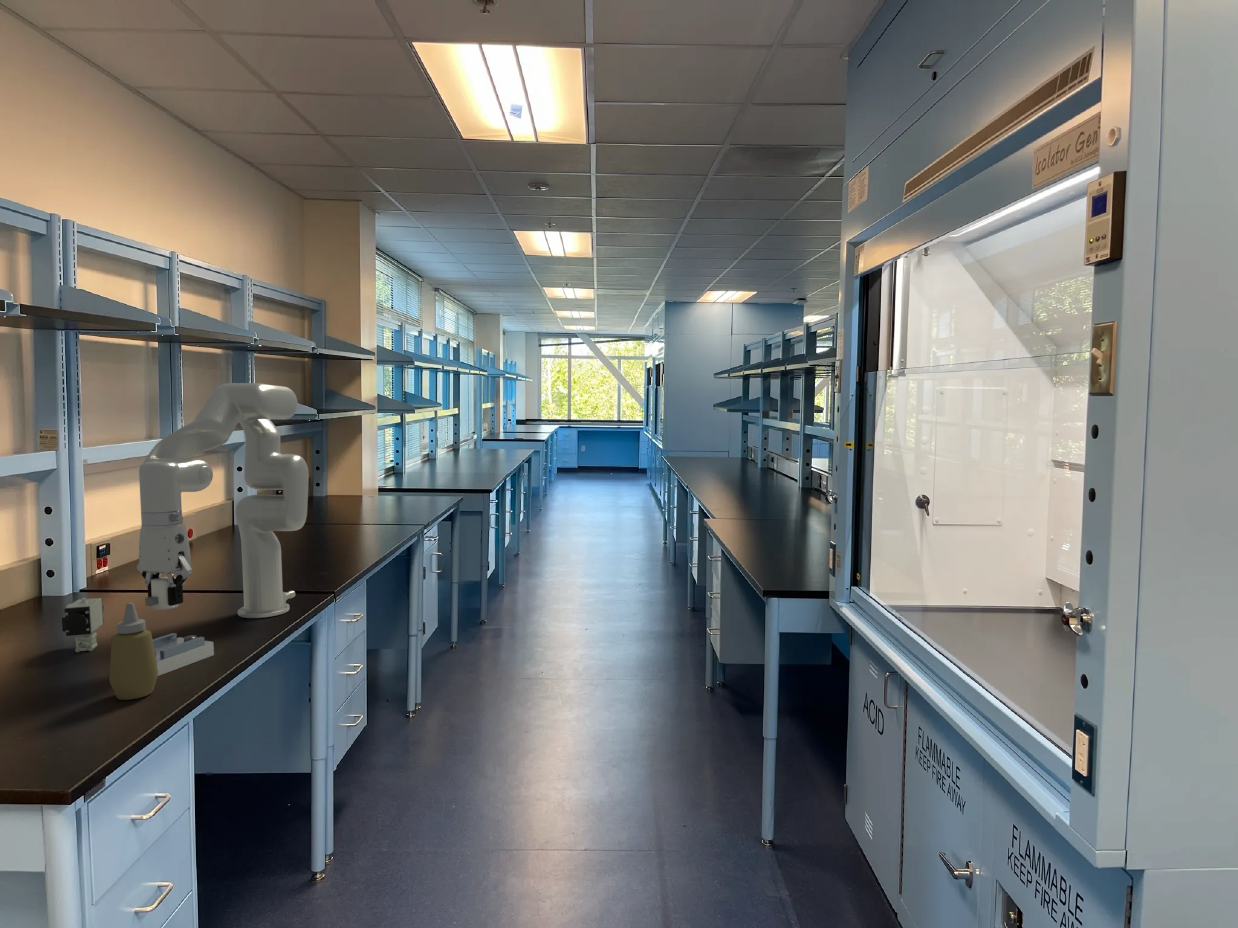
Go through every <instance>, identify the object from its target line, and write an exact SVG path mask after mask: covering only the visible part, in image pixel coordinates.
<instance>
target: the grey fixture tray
mask: <svg viewBox="0 0 1238 928" xmlns="http://www.w3.org/2000/svg"><path fill="white" fill-rule="evenodd" d="M177 635H178V633H174V632H172V633H168V634H165V635H163V636H159V637H157V638H152V640H153V646H154V651H155V657H156V663H157V669H158V676H157V677H159V676H162V675H164V674H167V673H170V672H172V671H175V670H178V669H180V668H183V667H187V666H189V665H190V664H193V663H197V662H199V661H202V660H205V659H208V658H210V657H212V656H214V655H215V650H214V649H215V647H214V641H209V640H205V637H204V636H199V637H198V636H197V635H193V634H192V635H187V636H184V637H180V636H179V637H178V636H177Z"/></svg>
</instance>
